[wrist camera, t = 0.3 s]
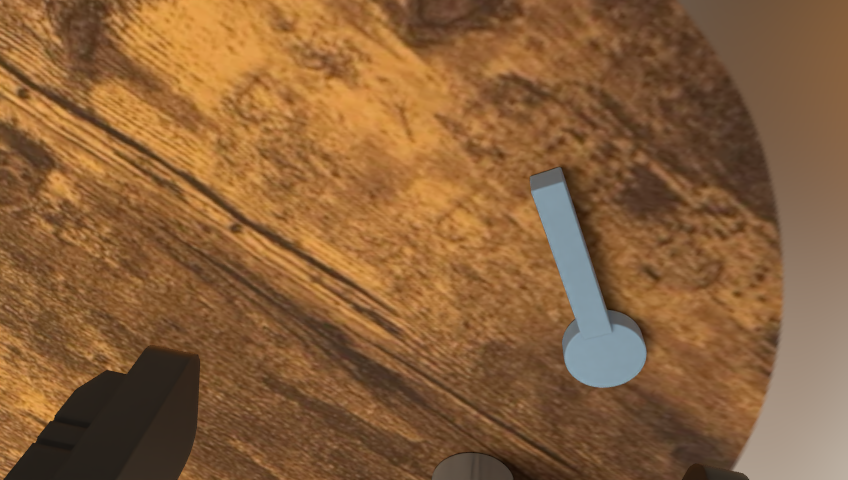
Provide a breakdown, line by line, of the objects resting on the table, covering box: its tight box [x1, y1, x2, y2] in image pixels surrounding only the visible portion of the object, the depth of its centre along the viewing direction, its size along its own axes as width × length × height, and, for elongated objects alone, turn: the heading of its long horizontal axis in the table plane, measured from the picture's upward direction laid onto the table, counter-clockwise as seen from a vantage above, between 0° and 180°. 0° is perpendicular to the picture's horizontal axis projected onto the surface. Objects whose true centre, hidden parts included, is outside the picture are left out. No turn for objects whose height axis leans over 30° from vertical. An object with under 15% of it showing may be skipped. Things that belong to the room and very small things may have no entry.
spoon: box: [530, 167, 647, 387], centre depth 31 cm, size 11×4×2 cm, turn 21°
